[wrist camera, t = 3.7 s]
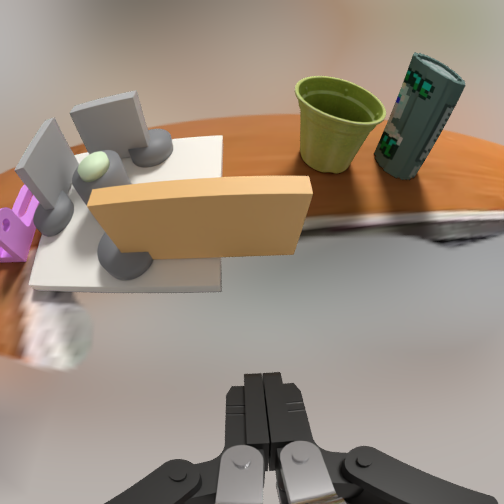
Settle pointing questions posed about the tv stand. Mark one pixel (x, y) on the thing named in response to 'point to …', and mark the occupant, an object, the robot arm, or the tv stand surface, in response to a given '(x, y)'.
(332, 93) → the plant pot
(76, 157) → the plate
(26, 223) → the bracket
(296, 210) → the tan upright panel
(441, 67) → the can
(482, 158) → the tv stand surface
